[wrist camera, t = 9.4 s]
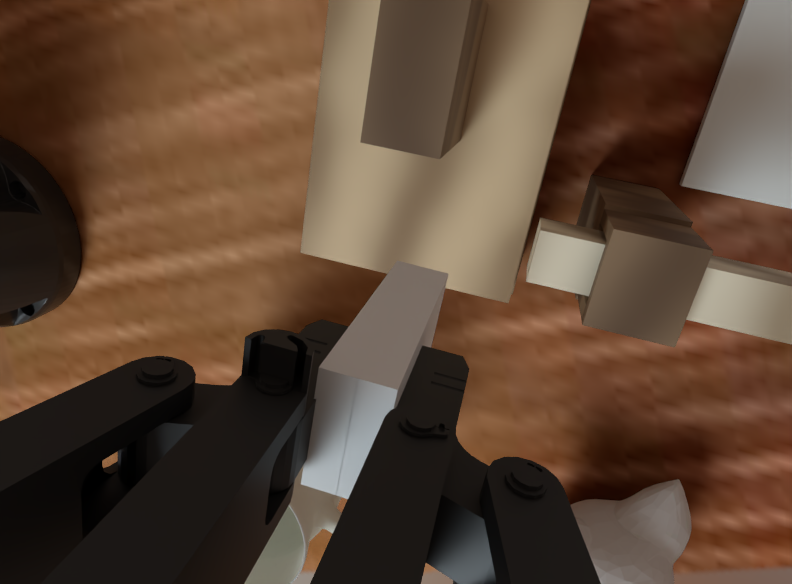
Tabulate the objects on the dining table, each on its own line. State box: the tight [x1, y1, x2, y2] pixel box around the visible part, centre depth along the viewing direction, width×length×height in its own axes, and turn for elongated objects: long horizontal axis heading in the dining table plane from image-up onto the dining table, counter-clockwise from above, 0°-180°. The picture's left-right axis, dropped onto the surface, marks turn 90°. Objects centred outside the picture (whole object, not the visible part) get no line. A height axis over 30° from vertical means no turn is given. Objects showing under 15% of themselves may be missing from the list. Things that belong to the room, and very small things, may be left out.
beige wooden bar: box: [526, 218, 792, 344], centre depth 26 cm, size 22×3×3 cm, turn 80°
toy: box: [570, 479, 691, 584], centre depth 41 cm, size 13×9×15 cm
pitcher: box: [244, 465, 342, 584], centre depth 40 cm, size 11×18×14 cm, turn 83°
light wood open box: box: [511, 0, 713, 347], centre depth 29 cm, size 19×22×12 cm
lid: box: [300, 0, 589, 303], centre depth 26 cm, size 12×21×9 cm, turn 170°
